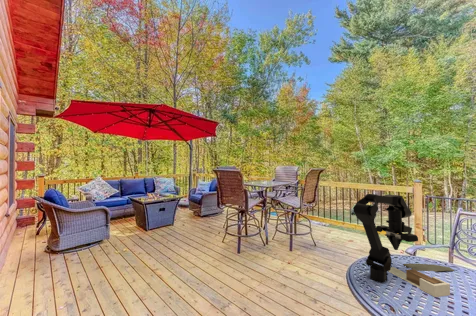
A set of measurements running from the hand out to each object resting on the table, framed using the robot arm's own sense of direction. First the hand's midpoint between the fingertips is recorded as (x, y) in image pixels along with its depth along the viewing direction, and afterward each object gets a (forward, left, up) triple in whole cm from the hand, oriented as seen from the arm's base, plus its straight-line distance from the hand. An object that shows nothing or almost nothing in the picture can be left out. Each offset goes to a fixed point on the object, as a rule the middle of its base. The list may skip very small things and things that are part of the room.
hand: (395, 249), depth 108 cm
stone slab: (+22, +2, -13) cm, 26 cm away
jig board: (0, -8, -12) cm, 14 cm away
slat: (0, -13, -11) cm, 17 cm away
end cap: (0, -18, -11) cm, 21 cm away
